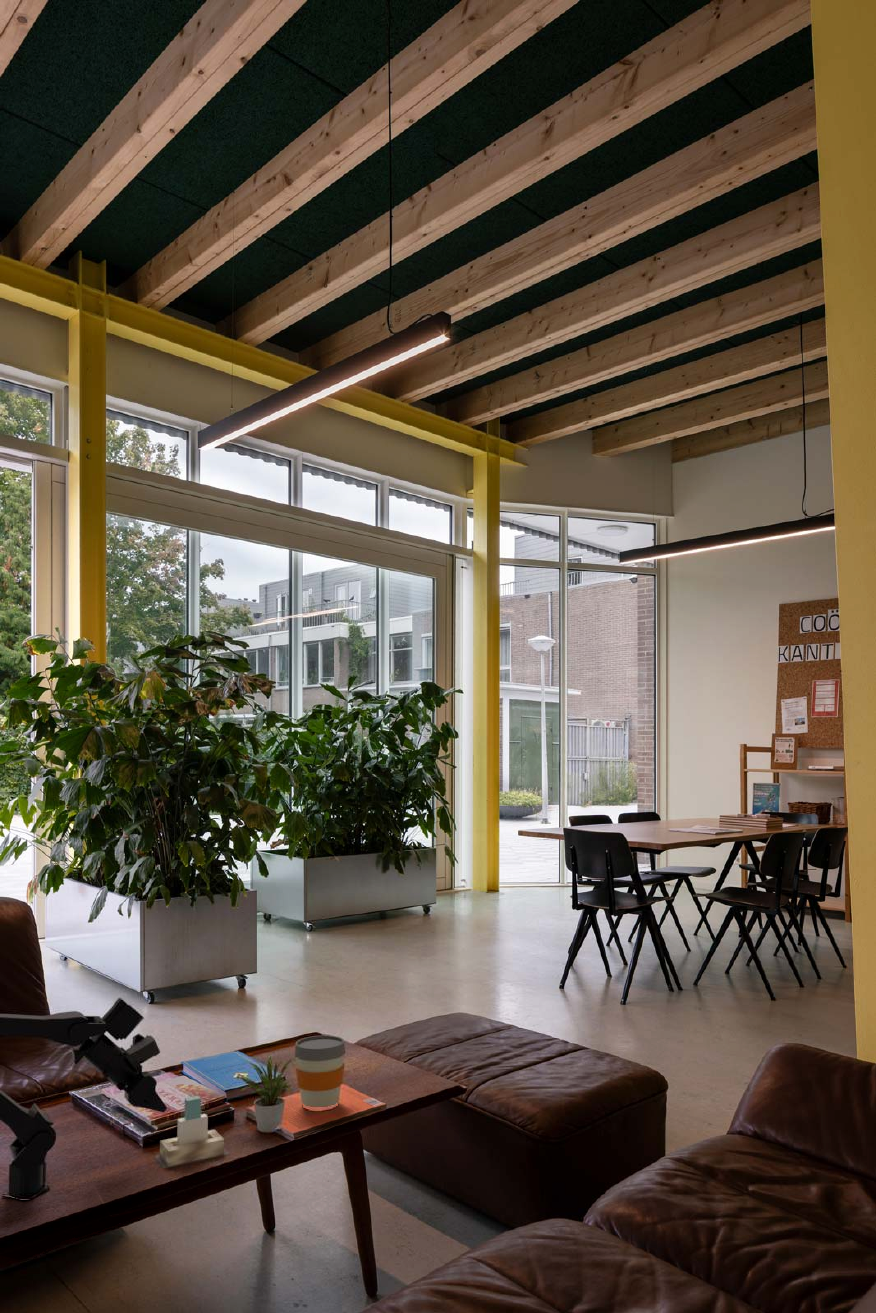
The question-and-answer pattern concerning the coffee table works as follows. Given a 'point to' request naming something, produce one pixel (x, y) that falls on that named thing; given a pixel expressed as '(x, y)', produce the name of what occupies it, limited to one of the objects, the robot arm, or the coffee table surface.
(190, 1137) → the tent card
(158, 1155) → the mat
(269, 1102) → the house plant
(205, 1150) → the slot rack
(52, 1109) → the coffee table surface
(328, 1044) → the reusable coffee cup
